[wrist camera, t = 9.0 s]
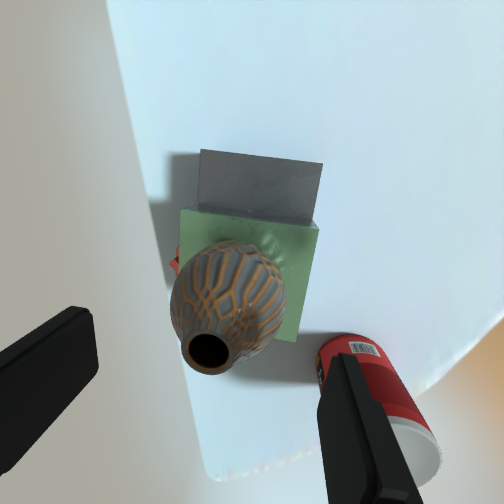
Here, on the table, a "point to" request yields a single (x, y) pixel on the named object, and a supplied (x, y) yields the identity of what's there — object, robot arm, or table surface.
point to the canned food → (389, 402)
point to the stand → (257, 217)
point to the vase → (227, 305)
